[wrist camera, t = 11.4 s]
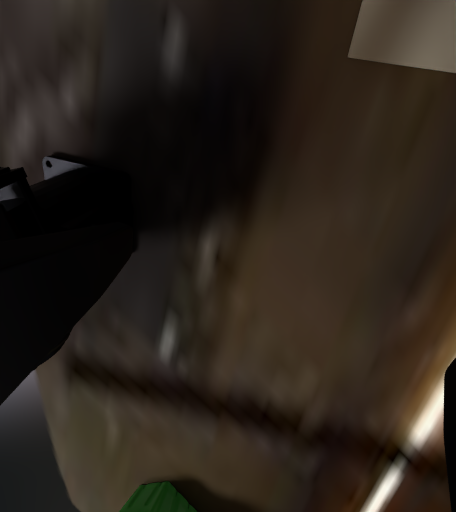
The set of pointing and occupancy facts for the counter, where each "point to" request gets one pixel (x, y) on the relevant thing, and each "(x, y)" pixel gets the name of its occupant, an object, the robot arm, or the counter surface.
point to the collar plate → (407, 33)
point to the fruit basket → (157, 499)
